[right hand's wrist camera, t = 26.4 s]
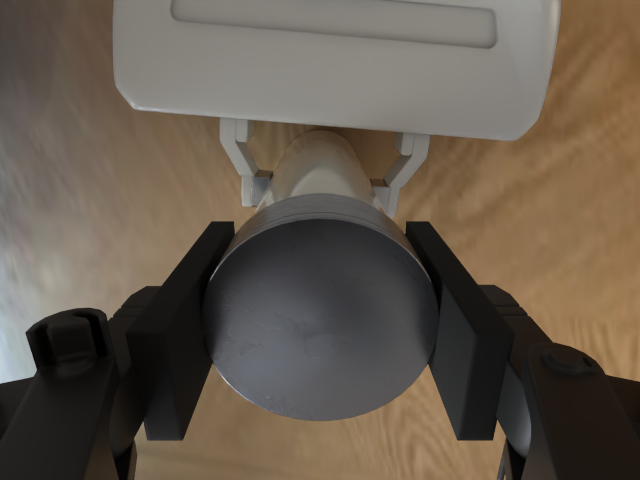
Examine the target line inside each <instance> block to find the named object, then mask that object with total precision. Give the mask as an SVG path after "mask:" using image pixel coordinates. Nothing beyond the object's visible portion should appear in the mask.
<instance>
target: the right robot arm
mask: <svg viewBox="0 0 640 480" xmlns="http://www.w3.org/2000/svg"><path fill="white" fill-rule="evenodd" d="M234 236H235V230H234V222H211V223H210V224H209V226H208V227H207V228H206V229H205V231H204V232H203V233H202V235H201V236H200V237H199V238H198V240H197V241H196V242H195V244H194V245H193V246H192V247H191V249H190V250H189V251H188V253H187V254H186V255H185V256H184V258H183V259H182V260H181V262H180V263H179V264H178V265H177V267H176V268H175V269H174V271H173V272H172V273H171V274H170V276H169V277H168V278H167V280H166V281H165V282H164V283H163V285H162V286H146V287H144V288H143V289H141V290H139V291H137V292H136V293H134V294H132V295H131V296H130V297H129V298H128V299H127V300H126V301H125V303H124V304H123V305H122V306H121V308H119V309H118V310H117V312H116V313H115V314H114V315H113V318H110V319H109V321H107V316H106V314H105V313H104V312H102V311H101V310H99V309H93V308H76V309H71V310H67V311H62V312H59V313H56V314H53V315H51V316H48V317H46V318H44V319H42V320H40V321H39V322H37V323H35V324H34V325H33V326H32V327H31V328H30V329H29V330H28V331H27V332H26V336H27V339H28V342H29V346H30V349H31V352H32V355H33V358H34V361H35V364H36V368H37V372H36V373H35V375H34V377H31V378H27V379H22V380H17V381H12V382H7V383H2V384H0V480H134V477H135V469H136V461H137V450H136V444H135V440H134V437H135V436H136V434H137V432H138V430H139V428H140V426H141V424H142V422H143V421H144V426H145V431H146V436H147V440H183V439H184V436H185V433H186V431H187V428H188V425H189V423H190V420H191V418H192V415H193V412H194V410H195V407H196V405H197V402H198V399H199V397H200V394H201V392H202V389H203V386H204V384H205V381H206V378H207V376H208V373H209V371H210V368H211V365H212V361H211V359H210V357H209V355H208V352H207V350H206V347H205V344H204V338H203V331H202V323H201V307H202V302H203V297H204V293H205V290H206V288H207V285H208V283H209V280H210V278H211V276H212V274H213V273H214V271H215V269H216V267H217V266H218V264H219V262H220V260H221V258H222V257H223V255H224V253H225V251H226V249H227V248H228V246H229V244H230V242H231V241H232V239H233V237H234ZM405 236H406V237H407V238H408V240H409V241H410V243H411V245H412V247H413V249H414V250H415V252H416V254H417V256H418V257H419V259H420V261H421V263H422V265H423V266H424V268H425V270H426V272H427V274H428V276H429V278H430V280H431V282H432V284H433V286H434V289H435V293H436V296H437V299H438V306H439V313H440V314H439V325H438V333H437V341H436V345H435V348H434V351H433V353H432V356H431V358H430V360H429V362H428V365H429V367H430V370H431V373H432V375H433V378H434V380H435V383H436V386H437V388H438V391H439V393H440V396H441V399H442V401H443V404H444V407H445V409H446V412H447V414H448V417H449V420H450V422H451V425H452V427H453V430H454V433H455V435H456V438H457V440H493V437H494V432H495V427H496V423H497V419H498V421H499V423H500V425H501V427H502V429H503V431H504V433H505V435H506V440H505V444H504V449H503V453H502V458H501V462H500V467H499V471H498V477H497V480H503V479H504V475H506V480H640V382H638V381H633V380H628V379H623V378H618V377H613V376H609V375H605V373H604V371H603V369H602V368H601V367H600V365H599V364H598V363H597V362H596V361H595V360H594V359H592V358H591V357H589V356H588V355H587V354H585V353H584V352H581V351H579V350H577V349H574V348H572V347H570V346H566V345H562V344H558V343H553V342H552V341H551V340H550V339H549V337H548V336H547V335H546V334H545V333H544V332H543V331H542V330H541V328H540V327H539V326H538V325H537V324H536V323H535V322H534V321H533V319H532V318H531V317H530V316H528V315H527V313H526V312H525V311H524V309H523V308H522V307H519V304H518V303H517V302H516V300H515V299H514V298H513V297H512V296H511V295H510V294H509V293H507V292H505V291H504V290H502V289H500V288H499V287H497V286H495V285H478V284H477V283H476V282H475V281H474V279H473V278H472V277H471V275H470V274H469V273H468V272H467V270H466V269H465V268H464V266H463V265H462V264H461V263H460V261H459V260H458V259H457V257H456V256H455V255H454V254H453V252H452V251H451V250H450V248H449V247H448V246H447V245H446V243H445V242H444V241H443V239H442V238H441V237H440V236H439V234H438V233H437V232H436V230H435V229H434V228H433V227H432V225H431V224H430V223H429V222H414V221H406V233H405Z"/></svg>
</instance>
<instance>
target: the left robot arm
mask: <svg viewBox="0 0 640 480" xmlns="http://www.w3.org/2000/svg"><path fill="white" fill-rule="evenodd" d="M560 17H561V0H114V5H113V35H112V40H113V72H114V81H115V85H116V87H117V89H118V91H119V92H120V93H121V95H122V96H123V97H124V98H125V100H126V101H127V102H128V104H129V105H130V106H131V107H132V108H133V109H135V110H141V111H152V112H164V113H176V114H188V115H200V116H212V117H220V142H221V144H222V145H223V147H224V149H225V151H226V152H227V154H228V156H229V158H230V159H231V161H232V163H233V165H234V166H235V168H236V170H237V171H238V173H239V175H242V205H243V206H247V207H257V206H258V204H259V202H260V200H261V198H262V196H263V194H264V192H265V190H266V188H267V186H268V184H269V182H270V180H271V178H272V176H273V171H268V170H259V168H258V166H257V164H256V162H255V160H254V158H253V156H252V154H251V152H250V150H249V148H248V146H247V144H246V141H247V140H249V139H250V138H251V137H252V136H254V120H260V121H273V122H285V123H297V124H309V125H321V126H333V127H345V128H357V129H369V130H381V131H393V132H395V140H394V148H395V149H396V150H397V151H398V152H399V153H401V155H400V156H399V157H398V159H397V160H396V161H395V163H394V164H393V166H392V167H391V168H390V170H389V171H388V172H387V174H386V175H385V177H384V178H383V179H369V180H370V182H371V184H372V186H373V188H374V190H375V192H376V194H377V196H378V198H379V200H380V202H381V204H382V206H383V208H384V210H385V212H386V214H387V216H388V217H390V218H394V217H395V214H396V210H397V204H398V197H399V191H400V188H403V186H404V185H405V184H406V183H407V182H408V180H409V179H410V178H411V177H412V175H413V174H414V173H415V172H416V170H417V169H418V168H419V167H420V166H421V164H422V163H423V162H424V161H425V159H426V158H427V154H428V148H429V143H430V137H431V135H442V136H454V137H466V138H478V139H490V140H502V141H516V140H518V139H519V138H520V137H521V136H522V135H524V134H525V133H526V132H527V131H528V130H529V129H530V128H531V127H532V126H533V125H534V124H535V123H536V121H537V120H538V118H539V116H540V113H541V110H542V107H543V104H544V100H545V96H546V92H547V88H548V84H549V80H550V75H551V71H552V66H553V61H554V55H555V50H556V44H557V38H558V31H559V24H560Z"/></svg>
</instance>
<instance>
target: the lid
mask: <svg viewBox="0 0 640 480" xmlns="http://www.w3.org/2000/svg"><path fill="white" fill-rule="evenodd" d="M439 314H440V313H439V306H438V299H437V296H436V293H435V289H434V286H433V284H432V282H431V280H430V278H429V276H428V274H427V272H426V270H425V268H424V266H423V265H422V263H421V261H420V259H419V257H418V256H417V254H416V252H415V250H414V249H413V247H412V245H411V243H410V241H409V240H408V238H407V237H406V236H405V234H404V233H403V231H402V230H401V229H400V228H399V227H398V226H397V224H396V223H395V222H394V221H393V220H391V219H390V218H389V217H388V216H387V215H385V214H384V213H383V212H381V211H380V210H378V209H376V208H375V207H373V206H372V205H369V204H367V203H365V202H363V201H360V200H358V199H355V198H351V197H348V196H344V195H338V194H332V193H311V194H302V195H297V196H293V197H288V198H286V199H283V200H280V201H277V202H275V203H273V204H271V205H269V206H267V207H265V208H263V209H262V210H261V211H259V212H258V213H256V214H255V215H254V216H252V217H251V218H250V219H249V220H248V221H247V222H246V223H245V224H244V225H243V226H242V227H241V228H240V229H239V231H238V232H237V233H236V234H235V236H234V237H233V239H232V241H231V242H230V244H229V246H228V248H227V249H226V251H225V253H224V255H223V257H222V258H221V260H220V262H219V264H218V266H217V267H216V269H215V271H214V273H213V274H212V276H211V278H210V280H209V283H208V285H207V288H206V290H205V293H204V297H203V302H202V307H201V323H202V331H203V338H204V344H205V347H206V350H207V352H208V355H209V357H210V359H211V361H212V363H213V364H214V366H215V368H216V370H217V371H218V372H219V374H220V375H221V376H222V377H223V379H224V380H225V381H226V382H227V383H228V384H229V385H230V386H231V387H232V388H233V389H234V390H235V391H236V392H238V393H239V394H240V395H241V396H243V397H244V398H245V399H247V400H249V401H250V402H252V403H254V404H255V405H257V406H259V407H261V408H263V409H265V410H268V411H270V412H273V413H276V414H279V415H282V416H286V417H290V418H294V419H301V420H309V421H330V420H340V419H346V418H351V417H355V416H358V415H362V414H365V413H368V412H370V411H373V410H375V409H377V408H379V407H381V406H383V405H385V404H387V403H389V402H390V401H392V400H393V399H395V398H396V397H398V396H399V395H400V394H402V393H403V392H404V391H405V390H406V389H407V388H408V387H410V386H411V385H412V384H413V382H414V381H415V380H416V379H417V378H418V377H419V376H420V374H421V373H422V371H423V370H424V368H425V367H426V365H427V364H428V362H429V360H430V358H431V356H432V353H433V351H434V348H435V345H436V341H437V333H438V325H439Z"/></svg>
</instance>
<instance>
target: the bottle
mask: <svg viewBox="0 0 640 480" xmlns="http://www.w3.org/2000/svg"><path fill="white" fill-rule="evenodd" d="M311 193H332V194H338V195H344V196H348V197H351V198H355V199H358V200H360V201H363V202H365V203H367V204H369V205H372V206H373V207H375V208H376V209H378V210H380V211H381V212H383V213H384V214H385V215H387V214H386V212H385V210H384V208H383V206H382V204H381V202H380V200H379V198H378V196H377V194H376V192H375V190H374V188H373V186H372V184H371V182H370V180H369V178H368V176H367V174H366V172H365V170H364V168H363V166H362V164H361V162H360V160H359V158H358V156H357V154H356V152H355V150H354V149H353V147H352V146H351V144H350V143H349V142H348V141H347V140H346V139H345V138H343V137H342V136H340V135H338V134H336V133H334V132H331V131H326V130H313V131H309V132H306V133H304V134H302V135H300V136H298V137H297V138H296V139H294V140H293V141H292V142H291V143H290V145H289V146H288V147H287V149H286V151H285V152H284V154H283V156H282V158H281V160H280V162H279V164H278V166H277V168H276V170H275V172H274V174H273V176H272V178H271V180H270V182H269V184H268V186H267V188H266V190H265V192H264V194H263V196H262V198H261V200H260V202H259V204H258V206H257V208H256V210H255V212H254V214H253V216H254V215H255V214H256V213H258V212H259V211H261V210H262V209H263V208H265V207H267V206H269V205H271V204H273V203H275V202H277V201H280V200H283V199H286V198H288V197H293V196H297V195H302V194H311Z"/></svg>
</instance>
